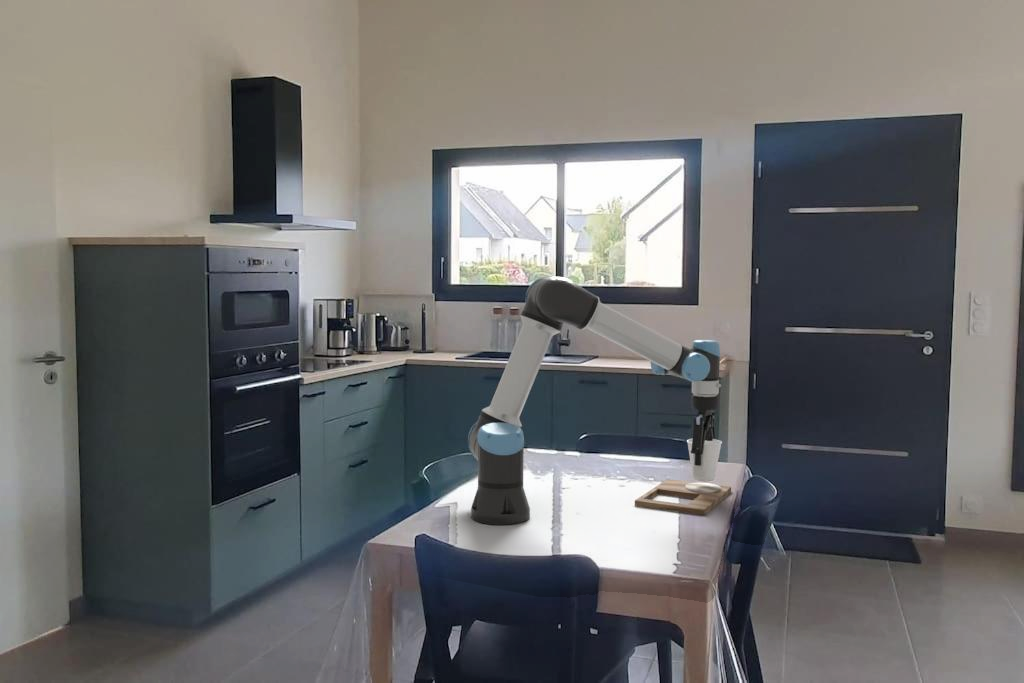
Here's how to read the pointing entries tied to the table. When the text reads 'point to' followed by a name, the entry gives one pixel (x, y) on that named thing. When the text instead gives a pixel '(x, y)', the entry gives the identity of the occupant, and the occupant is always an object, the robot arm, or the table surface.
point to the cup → (707, 459)
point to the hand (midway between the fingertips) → (703, 472)
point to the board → (685, 496)
